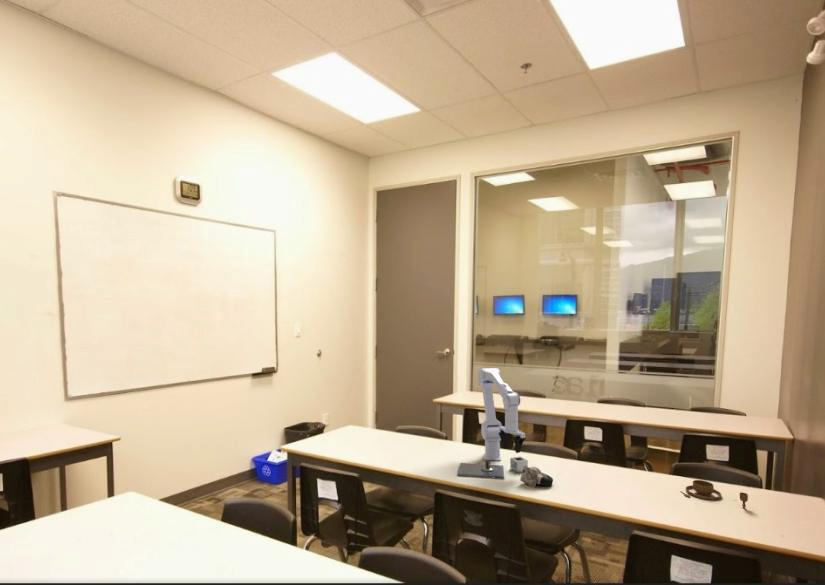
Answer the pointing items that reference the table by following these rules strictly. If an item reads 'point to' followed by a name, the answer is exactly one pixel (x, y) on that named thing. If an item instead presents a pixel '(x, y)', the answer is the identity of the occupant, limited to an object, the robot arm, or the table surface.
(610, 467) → the table surface
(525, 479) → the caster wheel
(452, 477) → the table surface
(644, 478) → the table surface
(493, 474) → the plate
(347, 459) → the table surface
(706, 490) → the place setting
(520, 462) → the collar
